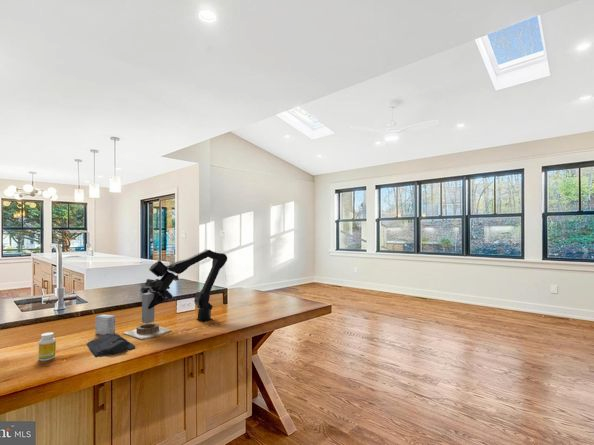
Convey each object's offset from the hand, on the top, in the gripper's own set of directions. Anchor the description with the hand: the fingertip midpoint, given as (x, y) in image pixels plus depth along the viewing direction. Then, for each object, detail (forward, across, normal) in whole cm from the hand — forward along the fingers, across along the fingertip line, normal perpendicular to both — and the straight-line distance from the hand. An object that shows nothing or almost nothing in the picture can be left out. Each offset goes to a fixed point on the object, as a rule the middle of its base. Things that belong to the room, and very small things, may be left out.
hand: (145, 308), depth 160 cm
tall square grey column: (+4, 0, +6) cm, 7 cm away
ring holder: (+8, 0, +10) cm, 12 cm away
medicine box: (+16, -16, +2) cm, 23 cm away
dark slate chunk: (+23, +3, -4) cm, 23 cm away
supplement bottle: (+37, -6, -19) cm, 42 cm away
